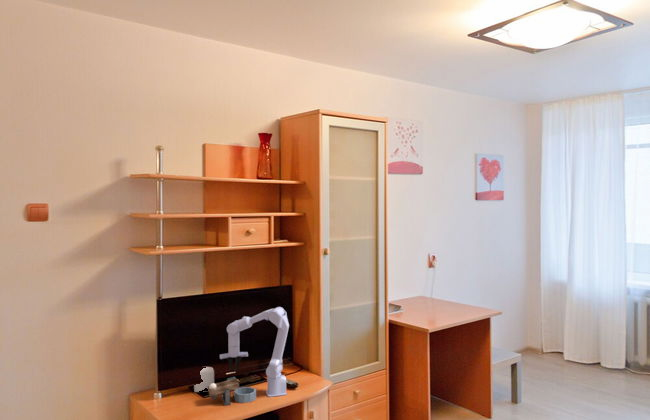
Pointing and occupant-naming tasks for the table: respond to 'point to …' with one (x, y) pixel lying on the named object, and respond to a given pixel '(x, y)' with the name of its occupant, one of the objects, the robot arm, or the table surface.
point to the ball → (212, 386)
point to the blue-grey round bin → (245, 394)
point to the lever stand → (226, 397)
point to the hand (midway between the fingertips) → (234, 371)
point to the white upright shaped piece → (205, 379)
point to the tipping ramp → (223, 387)
